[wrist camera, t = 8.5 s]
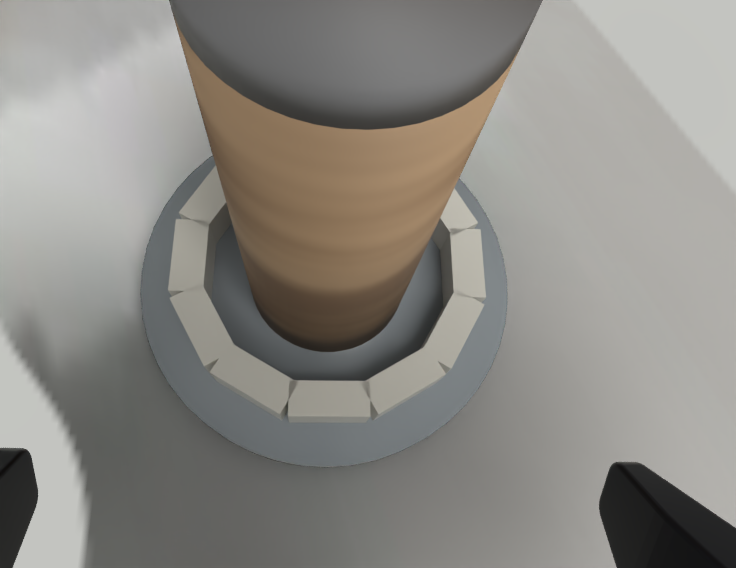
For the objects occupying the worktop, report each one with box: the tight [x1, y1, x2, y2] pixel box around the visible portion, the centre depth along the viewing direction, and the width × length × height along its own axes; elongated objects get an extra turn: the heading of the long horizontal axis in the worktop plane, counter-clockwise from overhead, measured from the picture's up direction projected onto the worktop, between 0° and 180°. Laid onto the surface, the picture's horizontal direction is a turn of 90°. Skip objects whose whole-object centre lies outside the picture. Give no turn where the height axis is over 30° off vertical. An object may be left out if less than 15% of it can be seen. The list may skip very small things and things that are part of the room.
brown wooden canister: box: [169, 0, 542, 352], centre depth 13 cm, size 6×5×13 cm
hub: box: [141, 156, 507, 467], centre depth 19 cm, size 12×12×2 cm
